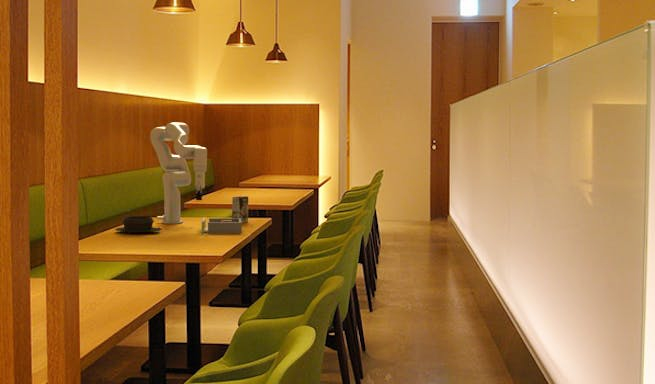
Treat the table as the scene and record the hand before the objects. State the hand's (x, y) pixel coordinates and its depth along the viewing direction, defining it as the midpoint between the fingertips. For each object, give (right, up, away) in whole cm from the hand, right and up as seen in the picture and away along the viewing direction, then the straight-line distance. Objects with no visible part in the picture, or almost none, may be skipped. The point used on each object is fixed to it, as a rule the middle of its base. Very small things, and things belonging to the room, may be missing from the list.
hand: (198, 200), depth 426 cm
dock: (+16, -17, -9) cm, 26 cm away
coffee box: (+21, -15, +28) cm, 37 cm away
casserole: (-30, -18, -21) cm, 41 cm away
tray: (+14, -17, -9) cm, 24 cm away
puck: (+17, -16, -9) cm, 25 cm away
